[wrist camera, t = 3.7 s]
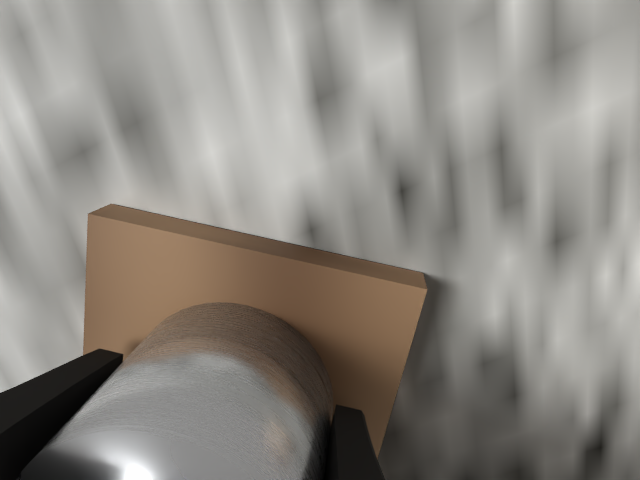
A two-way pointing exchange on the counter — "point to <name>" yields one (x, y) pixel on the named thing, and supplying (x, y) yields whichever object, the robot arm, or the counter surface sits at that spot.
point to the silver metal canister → (202, 406)
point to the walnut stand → (254, 297)
